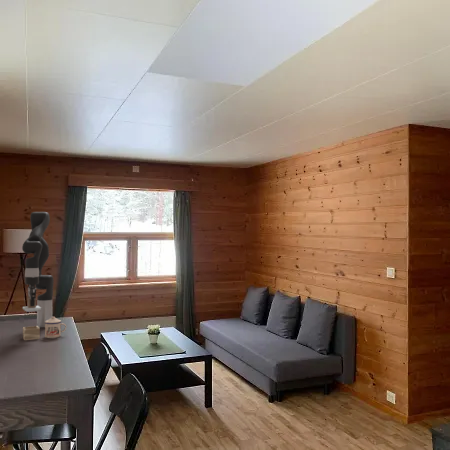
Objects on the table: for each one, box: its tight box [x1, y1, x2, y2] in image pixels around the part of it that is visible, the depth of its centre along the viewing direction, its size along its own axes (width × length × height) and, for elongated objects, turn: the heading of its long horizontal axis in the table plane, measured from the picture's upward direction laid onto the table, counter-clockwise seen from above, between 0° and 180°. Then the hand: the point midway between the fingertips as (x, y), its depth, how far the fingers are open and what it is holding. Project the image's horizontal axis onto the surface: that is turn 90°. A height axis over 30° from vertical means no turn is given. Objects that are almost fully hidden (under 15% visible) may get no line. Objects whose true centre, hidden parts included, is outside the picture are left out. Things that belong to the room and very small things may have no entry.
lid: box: [22, 297, 41, 313], centre depth 270 cm, size 9×9×7 cm
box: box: [22, 325, 41, 341], centre depth 270 cm, size 8×8×6 cm
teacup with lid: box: [44, 316, 67, 339], centre depth 275 cm, size 12×9×12 cm
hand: (31, 305), depth 270 cm, fingers closed on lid, 4 cm apart
